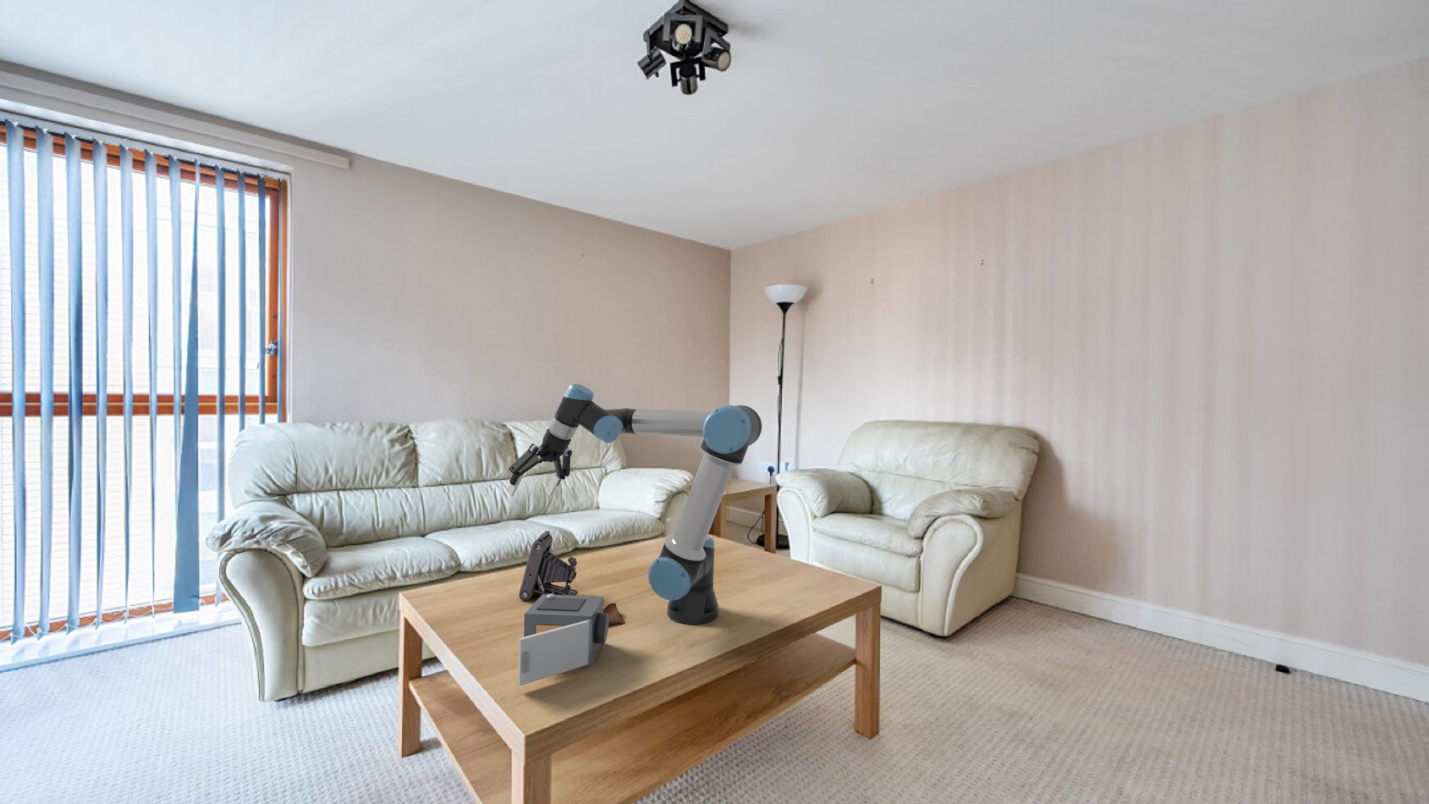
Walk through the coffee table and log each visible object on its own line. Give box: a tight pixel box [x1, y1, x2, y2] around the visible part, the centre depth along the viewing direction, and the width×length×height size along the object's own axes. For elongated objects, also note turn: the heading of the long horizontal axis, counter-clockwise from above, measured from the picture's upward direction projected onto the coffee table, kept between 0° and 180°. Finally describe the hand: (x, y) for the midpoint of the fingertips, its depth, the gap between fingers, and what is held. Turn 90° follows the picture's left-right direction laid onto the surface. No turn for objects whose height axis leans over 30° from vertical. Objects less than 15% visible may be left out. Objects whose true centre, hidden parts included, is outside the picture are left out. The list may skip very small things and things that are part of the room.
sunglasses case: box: [603, 602, 626, 627], centre depth 148 cm, size 18×7×7 cm
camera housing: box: [523, 593, 610, 668], centre depth 131 cm, size 18×12×13 cm
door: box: [517, 619, 592, 687], centre depth 119 cm, size 17×2×10 cm, turn 128°
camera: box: [518, 530, 578, 602], centre depth 168 cm, size 11×17×20 cm, turn 89°
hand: (529, 493), depth 159 cm, fingers open, 13 cm apart
